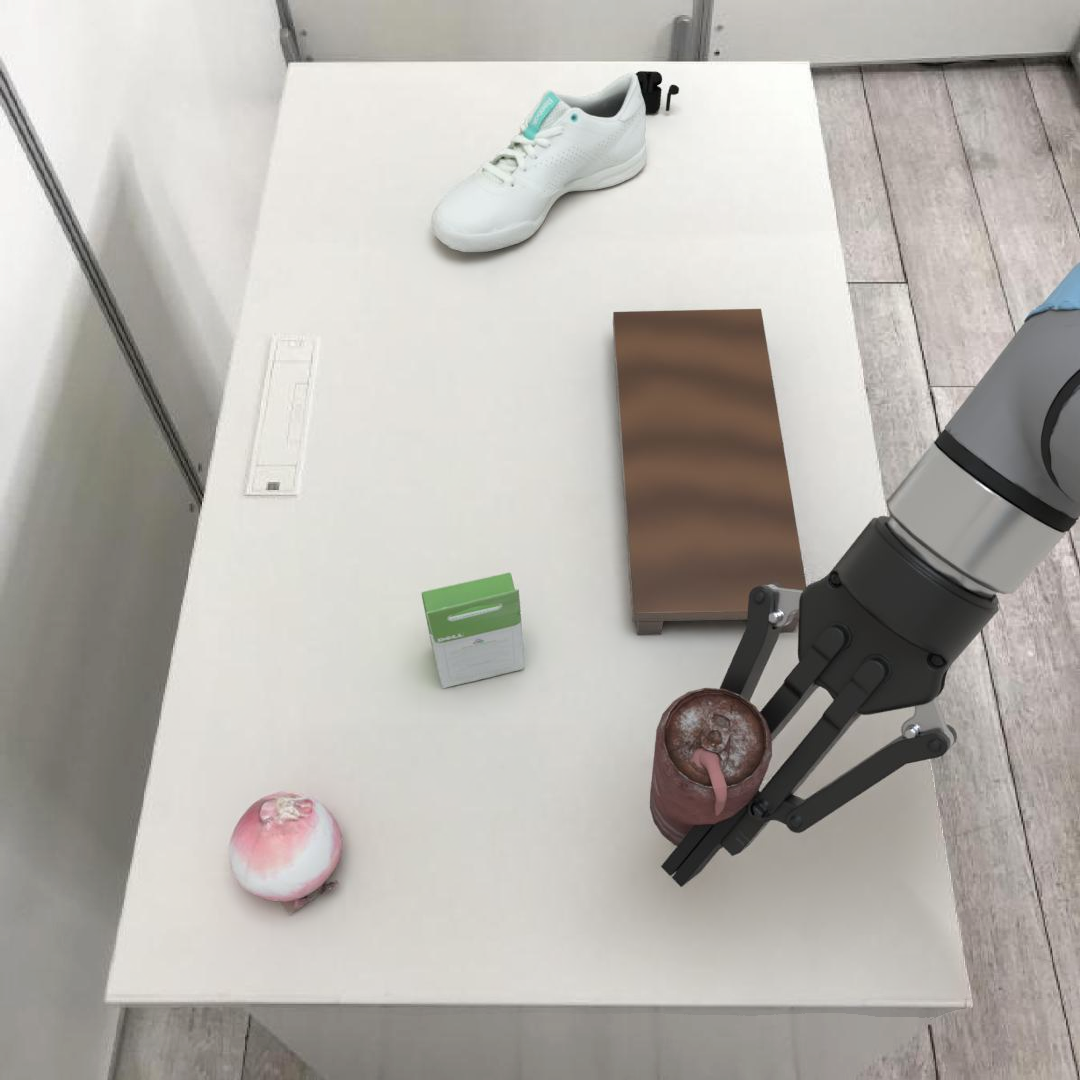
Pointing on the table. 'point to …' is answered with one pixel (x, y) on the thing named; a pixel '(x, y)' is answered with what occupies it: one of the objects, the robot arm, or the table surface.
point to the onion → (285, 848)
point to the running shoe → (547, 166)
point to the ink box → (475, 629)
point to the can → (707, 760)
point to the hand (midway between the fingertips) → (680, 869)
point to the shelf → (701, 466)
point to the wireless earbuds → (654, 90)
